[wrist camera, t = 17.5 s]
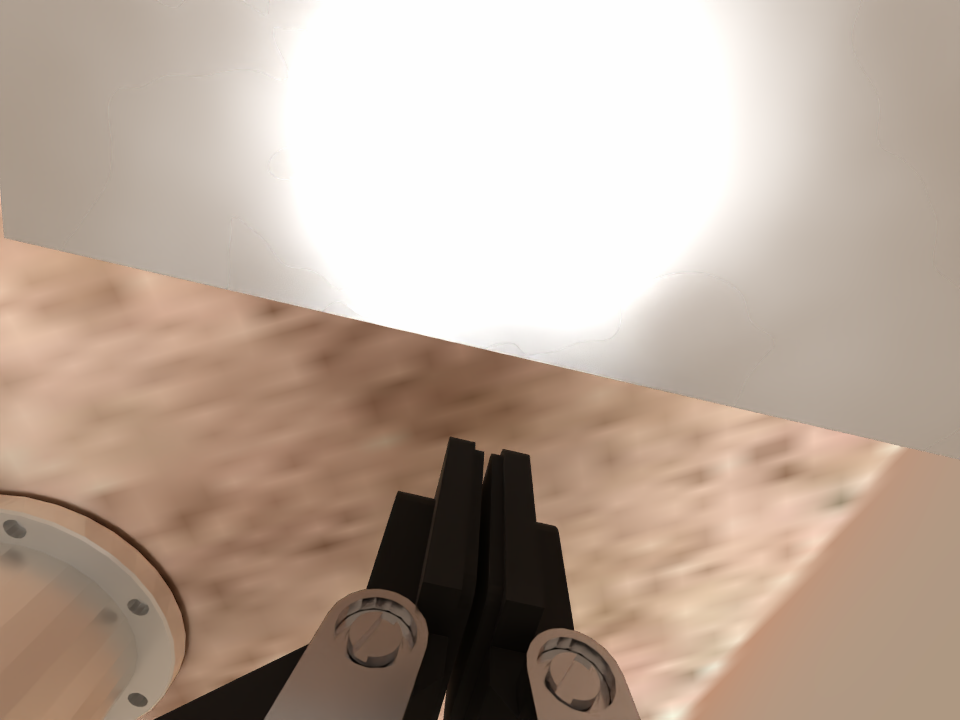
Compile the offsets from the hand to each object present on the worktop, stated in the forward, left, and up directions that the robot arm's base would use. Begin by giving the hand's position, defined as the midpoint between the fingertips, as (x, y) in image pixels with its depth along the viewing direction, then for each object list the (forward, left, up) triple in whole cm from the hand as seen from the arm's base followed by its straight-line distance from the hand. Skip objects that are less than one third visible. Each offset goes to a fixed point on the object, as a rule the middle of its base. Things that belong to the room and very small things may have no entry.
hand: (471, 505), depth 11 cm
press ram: (+8, 0, -7) cm, 10 cm away
